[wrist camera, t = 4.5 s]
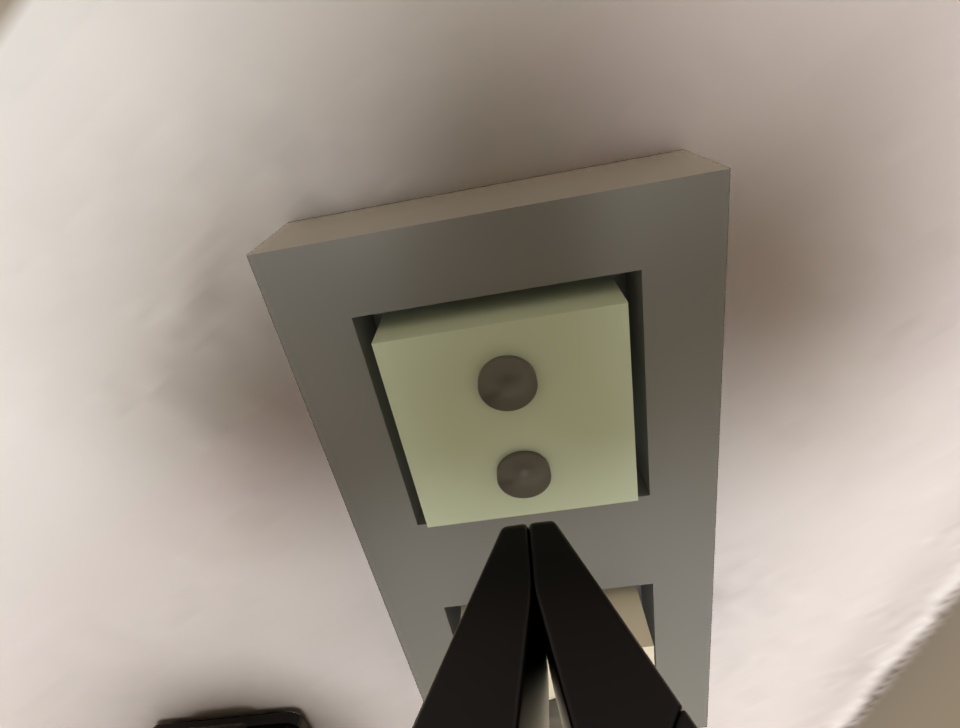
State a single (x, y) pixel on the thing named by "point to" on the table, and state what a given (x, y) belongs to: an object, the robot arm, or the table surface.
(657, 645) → the panel
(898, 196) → the table surface
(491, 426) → the sage tile two
